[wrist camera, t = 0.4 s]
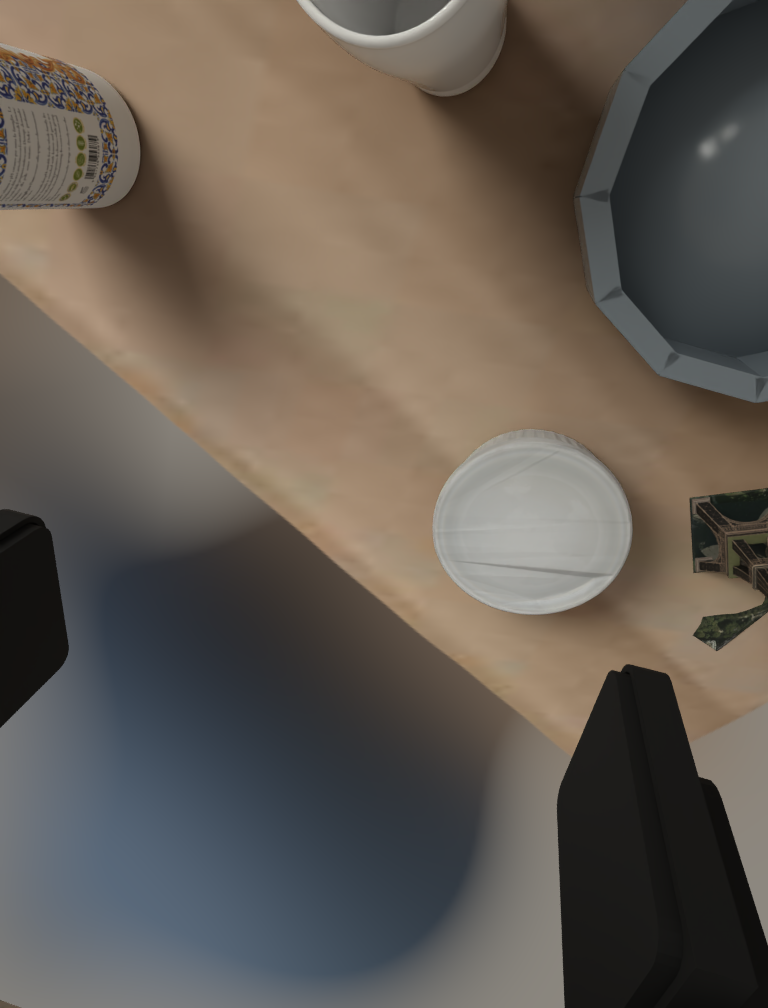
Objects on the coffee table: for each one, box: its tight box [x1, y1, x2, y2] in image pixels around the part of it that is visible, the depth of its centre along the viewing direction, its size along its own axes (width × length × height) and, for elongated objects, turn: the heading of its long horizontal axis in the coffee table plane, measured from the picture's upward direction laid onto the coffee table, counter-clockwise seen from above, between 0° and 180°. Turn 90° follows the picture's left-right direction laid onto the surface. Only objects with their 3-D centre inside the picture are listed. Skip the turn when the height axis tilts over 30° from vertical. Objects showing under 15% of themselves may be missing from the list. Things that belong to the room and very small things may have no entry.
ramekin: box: [433, 429, 633, 615], centre depth 36 cm, size 11×11×5 cm
